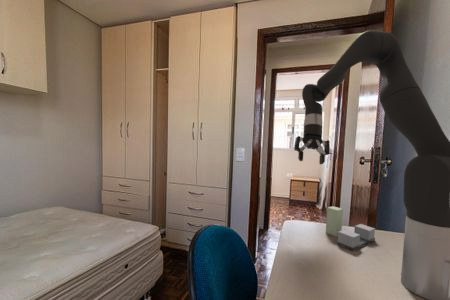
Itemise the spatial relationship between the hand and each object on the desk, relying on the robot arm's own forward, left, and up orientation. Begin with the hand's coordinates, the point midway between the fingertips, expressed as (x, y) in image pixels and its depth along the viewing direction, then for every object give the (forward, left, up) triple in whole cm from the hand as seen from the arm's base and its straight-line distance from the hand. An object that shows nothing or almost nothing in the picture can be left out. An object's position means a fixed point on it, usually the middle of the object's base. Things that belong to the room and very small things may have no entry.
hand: (311, 162), depth 92 cm
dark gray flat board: (-19, -2, -27) cm, 33 cm away
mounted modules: (-19, -2, -27) cm, 33 cm away
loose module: (-10, -2, -27) cm, 29 cm away
